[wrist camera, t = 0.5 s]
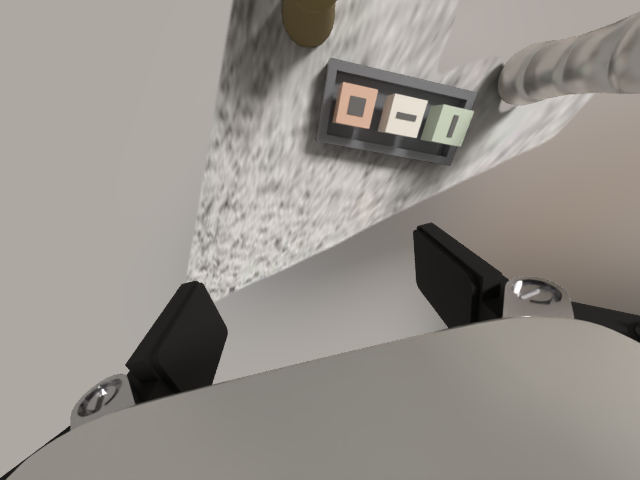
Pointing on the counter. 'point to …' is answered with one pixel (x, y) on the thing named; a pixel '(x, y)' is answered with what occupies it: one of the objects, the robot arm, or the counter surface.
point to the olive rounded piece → (308, 20)
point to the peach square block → (354, 105)
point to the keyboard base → (386, 86)
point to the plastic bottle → (576, 65)
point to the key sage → (446, 125)
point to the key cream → (402, 115)
